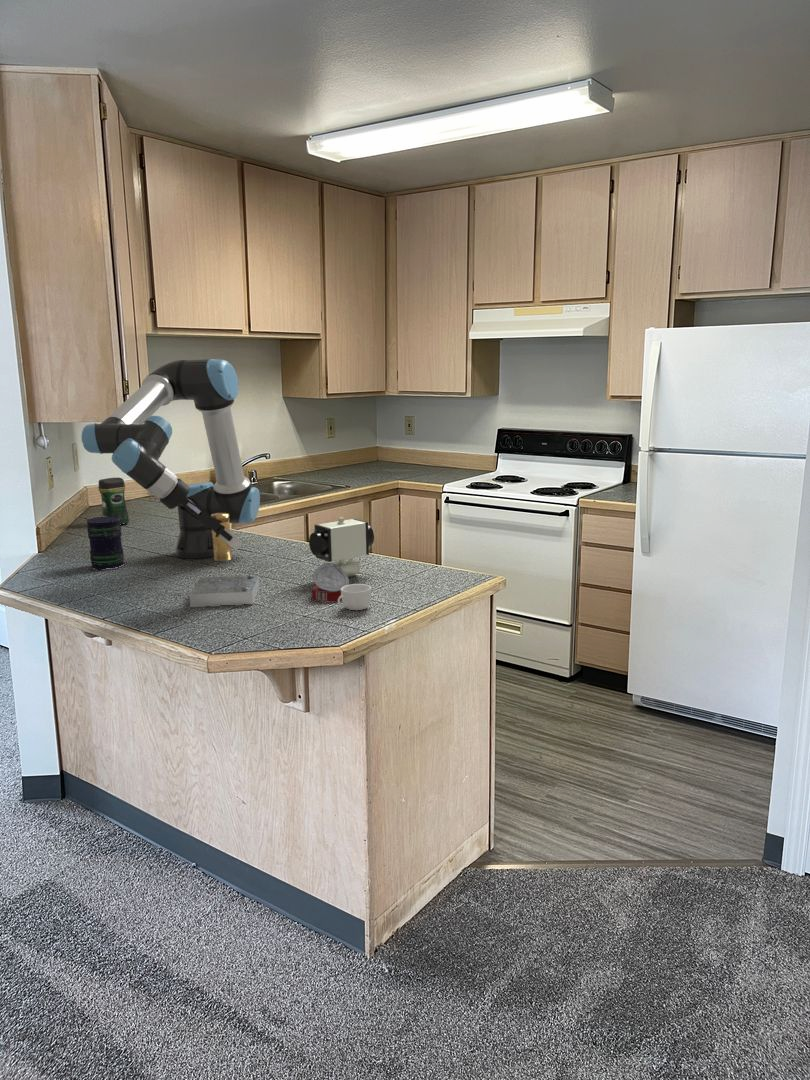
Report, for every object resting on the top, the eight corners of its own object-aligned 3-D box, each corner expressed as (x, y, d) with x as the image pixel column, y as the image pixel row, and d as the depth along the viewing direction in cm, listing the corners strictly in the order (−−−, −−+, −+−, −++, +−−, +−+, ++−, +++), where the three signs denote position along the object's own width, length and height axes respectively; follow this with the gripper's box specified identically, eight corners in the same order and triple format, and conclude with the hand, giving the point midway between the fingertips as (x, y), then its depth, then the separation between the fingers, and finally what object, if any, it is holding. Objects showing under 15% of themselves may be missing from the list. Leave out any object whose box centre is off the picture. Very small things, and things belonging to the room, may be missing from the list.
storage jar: (84, 568, 248) (79, 521, 245) (109, 561, 256) (104, 515, 253) (107, 571, 243) (102, 523, 240) (131, 564, 252) (127, 517, 249)
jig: (201, 589, 222) (200, 575, 221) (259, 587, 223) (258, 573, 222) (190, 607, 206) (189, 592, 206) (252, 604, 208) (252, 589, 207)
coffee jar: (123, 521, 320) (118, 475, 316) (131, 524, 314) (127, 477, 310) (99, 525, 314) (94, 478, 310) (107, 528, 308) (102, 480, 304)
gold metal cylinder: (215, 557, 214) (212, 513, 212) (233, 556, 215) (230, 512, 212) (212, 561, 210) (209, 516, 207) (230, 560, 210) (227, 515, 207)
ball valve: (359, 569, 241) (357, 511, 237) (375, 574, 234) (374, 515, 230) (307, 579, 231) (304, 519, 227) (323, 586, 224) (320, 523, 220)
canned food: (345, 609, 218) (362, 577, 216) (334, 616, 209) (351, 584, 207) (310, 588, 220) (326, 557, 218) (297, 594, 210) (314, 562, 208)
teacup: (357, 602, 209) (357, 582, 207) (378, 607, 203) (377, 587, 202) (328, 610, 202) (327, 590, 200) (349, 617, 196) (348, 596, 195)
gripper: (151, 495, 209) (217, 549, 220) (166, 505, 194) (237, 562, 205) (169, 473, 210) (235, 528, 221) (187, 481, 195) (255, 539, 206)
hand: (235, 544), depth 213 cm, fingers closed on gold metal cylinder, 4 cm apart
